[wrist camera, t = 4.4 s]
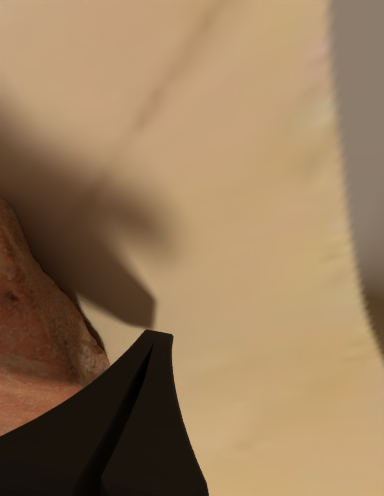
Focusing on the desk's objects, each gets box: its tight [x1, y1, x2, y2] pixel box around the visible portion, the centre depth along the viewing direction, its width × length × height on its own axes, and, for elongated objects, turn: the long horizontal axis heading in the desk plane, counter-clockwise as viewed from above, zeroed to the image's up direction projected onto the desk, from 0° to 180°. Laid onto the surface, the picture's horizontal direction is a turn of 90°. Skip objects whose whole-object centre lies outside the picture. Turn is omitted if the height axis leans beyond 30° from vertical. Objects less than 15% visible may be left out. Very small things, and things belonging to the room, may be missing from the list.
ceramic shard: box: [0, 198, 110, 436], centre depth 13 cm, size 15×6×15 cm
